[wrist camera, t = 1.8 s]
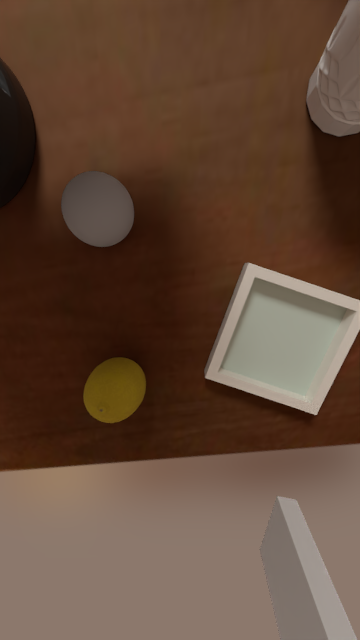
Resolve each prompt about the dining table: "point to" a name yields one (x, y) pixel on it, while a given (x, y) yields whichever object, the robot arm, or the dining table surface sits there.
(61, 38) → the dining table surface
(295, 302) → the square dish
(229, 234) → the dining table surface
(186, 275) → the dining table surface
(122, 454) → the dining table surface
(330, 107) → the white cup
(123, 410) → the lemon
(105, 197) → the grey rubber ball
